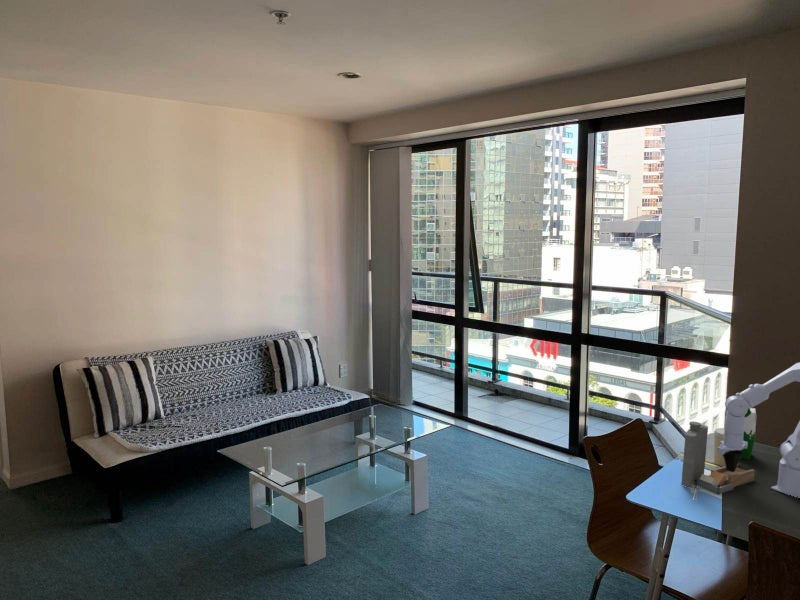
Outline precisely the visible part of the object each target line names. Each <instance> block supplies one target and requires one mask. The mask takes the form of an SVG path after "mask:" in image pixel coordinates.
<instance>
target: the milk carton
mask: <svg viewBox="0 0 800 600" xmlns="http://www.w3.org/2000/svg"><path fill="white" fill-rule="evenodd" d="M744 420H745V424H744V436H743V441H746V442H748V446H747V448H743V449H742V450H741V451H743V452H744V455H743V456H742V457H741V458H740V459H745V460H750V459H751V457H752V453H753V449H754V445H755V438H756V427H757V412H756V408H754V407H752V408H749V409H748V411H747V413H746V414H745V417H744Z"/></svg>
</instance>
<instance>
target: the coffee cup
mask: <svg viewBox="0 0 800 600" xmlns="http://www.w3.org/2000/svg"><path fill="white" fill-rule="evenodd" d="M724 428H725V427H724ZM724 428H723V427H718V428H715V430H714V432H713V434H714V436H713V462H714V464H716V465H718V466H720V467H724V466H726V464H725V460H724V457H723V455H722V454H719V453H717V447H719V446H720V445H721V444H720V441H724ZM740 451H741V450H740ZM739 462H740V461H739ZM739 462H738V464H737V467H738V466H739Z"/></svg>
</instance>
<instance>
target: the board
mask: <svg viewBox="0 0 800 600" xmlns="http://www.w3.org/2000/svg"><path fill="white" fill-rule="evenodd" d="M713 470H714V471H717V472H720V473H722V474H725V476H726V478H727V479H726V480H725V482H724V483H723V485H728V484H731V483H733V484H734V486H733V488H736V487H739V486H742V485H746V484H747V483H751V482H754V481H755V475H756V473H755V472H756V471H755V469H753V468H752V469H749V470H747V469H743V468H740V467H738V466H737V467H736V470H735V472H730V471H728V470H727V469H726V466H724V467H723V466H720V467H718V468H713V469H711V470H710V474H711V473H712V472H713Z"/></svg>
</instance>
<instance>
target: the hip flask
mask: <svg viewBox="0 0 800 600" xmlns="http://www.w3.org/2000/svg"><path fill="white" fill-rule="evenodd" d="M688 425H689V429H687V431H686V432H685V435H684V447H683V448H684V449H683V459H682V460H683V461H682V471H681V483H680V484H682V485H684V486H686V487H685V488H688V487H690V488H692V487H693V485H692V484H694V483H695V482H696V481H695V480H696V479H698V478H700V477H701V475H702V474H704V475H705V466H706V456H707V443H708V442H707V441H708V434H709V433H708V432H709V431H708V429H709V426H707V425H705V424H702V423H701V422H698V421H689V424H688ZM694 481H695V482H694ZM693 482H694V483H693ZM682 485H681V486H682ZM684 486H683V487H684ZM691 486H692V487H691Z"/></svg>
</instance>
